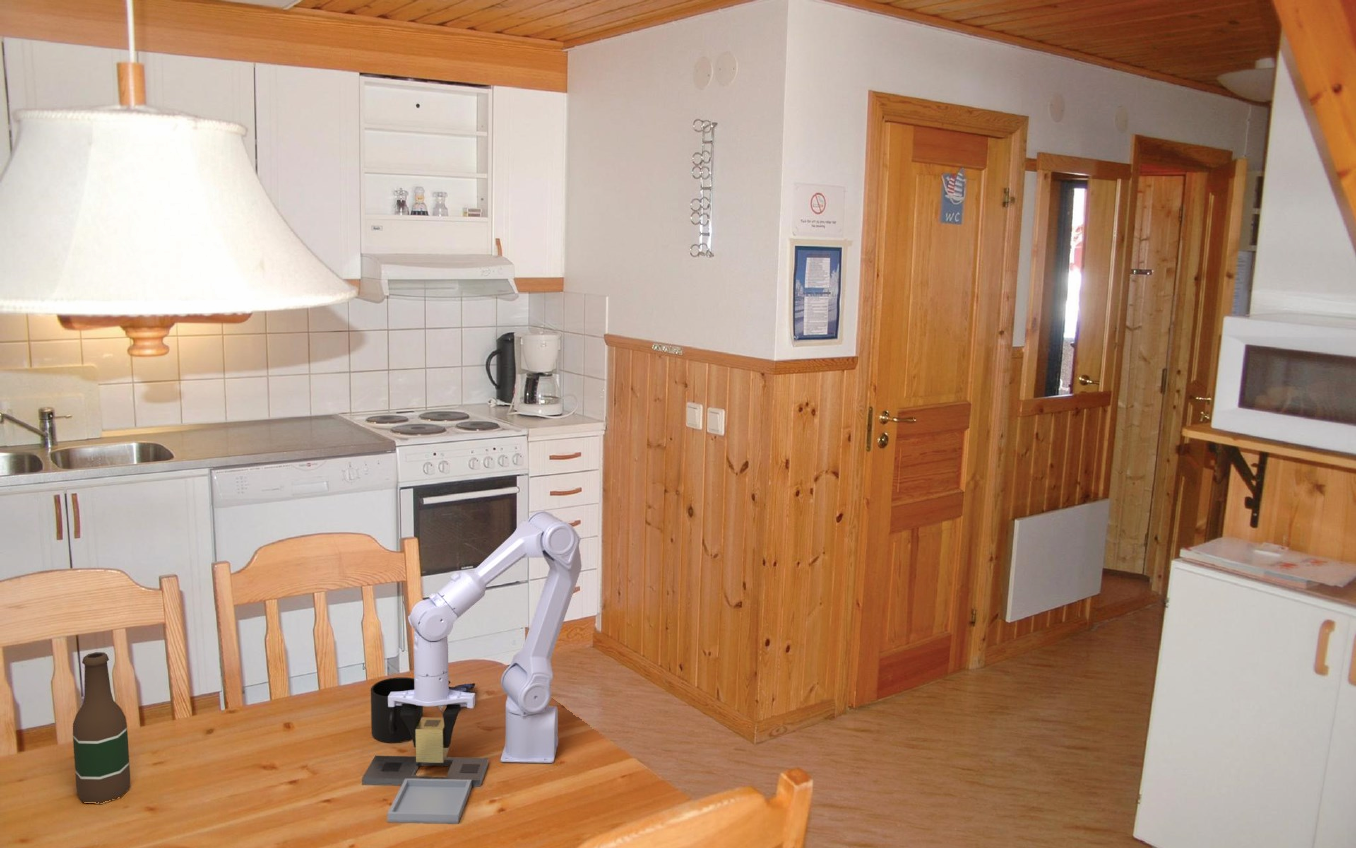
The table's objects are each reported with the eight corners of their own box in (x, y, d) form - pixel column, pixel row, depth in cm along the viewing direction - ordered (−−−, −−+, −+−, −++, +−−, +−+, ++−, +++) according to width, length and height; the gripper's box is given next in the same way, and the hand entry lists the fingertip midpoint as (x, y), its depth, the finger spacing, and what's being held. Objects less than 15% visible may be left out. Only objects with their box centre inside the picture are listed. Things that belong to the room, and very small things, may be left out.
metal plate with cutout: (488, 764, 182) (488, 757, 182) (480, 787, 174) (480, 780, 174) (375, 762, 182) (375, 755, 181) (362, 784, 174) (362, 777, 173)
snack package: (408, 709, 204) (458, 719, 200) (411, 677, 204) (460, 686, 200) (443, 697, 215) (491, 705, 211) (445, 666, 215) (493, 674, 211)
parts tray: (471, 788, 173) (471, 779, 173) (458, 823, 162) (458, 815, 162) (405, 786, 173) (405, 778, 173) (387, 822, 162) (387, 813, 162)
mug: (364, 751, 185) (363, 704, 184) (376, 722, 197) (375, 677, 196) (417, 749, 187) (417, 702, 185) (426, 720, 198) (425, 676, 197)
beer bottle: (80, 786, 171) (70, 649, 167) (132, 778, 174) (124, 643, 170) (73, 809, 164) (63, 667, 160) (128, 801, 167) (120, 660, 163)
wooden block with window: (448, 750, 180) (448, 717, 179) (443, 762, 175) (442, 729, 174) (422, 749, 179) (421, 717, 178) (416, 762, 175) (415, 729, 174)
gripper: (478, 662, 179) (478, 735, 181) (394, 660, 179) (396, 733, 181) (470, 678, 172) (471, 754, 174) (383, 676, 172) (385, 752, 174)
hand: (432, 745), depth 177 cm, fingers closed on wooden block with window, 5 cm apart
